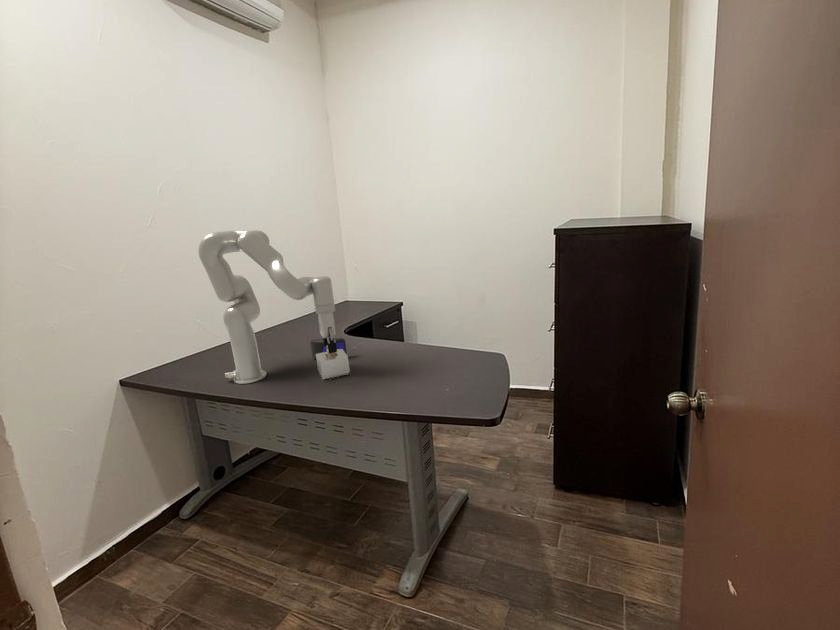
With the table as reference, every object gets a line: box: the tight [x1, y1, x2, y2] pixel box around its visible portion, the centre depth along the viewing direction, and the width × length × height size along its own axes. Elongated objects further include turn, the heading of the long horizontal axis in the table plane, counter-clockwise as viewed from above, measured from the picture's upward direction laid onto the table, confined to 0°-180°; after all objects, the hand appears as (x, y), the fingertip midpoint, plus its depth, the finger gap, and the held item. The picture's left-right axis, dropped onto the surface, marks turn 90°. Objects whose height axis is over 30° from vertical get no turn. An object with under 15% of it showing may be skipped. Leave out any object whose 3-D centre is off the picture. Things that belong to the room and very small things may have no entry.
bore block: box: [316, 349, 351, 380], centre depth 169 cm, size 11×11×8 cm
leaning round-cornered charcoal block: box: [309, 337, 348, 361], centre depth 186 cm, size 16×5×9 cm, turn 84°
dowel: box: [326, 345, 336, 357], centre depth 168 cm, size 3×3×12 cm
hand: (330, 349), depth 167 cm, fingers open, 9 cm apart
